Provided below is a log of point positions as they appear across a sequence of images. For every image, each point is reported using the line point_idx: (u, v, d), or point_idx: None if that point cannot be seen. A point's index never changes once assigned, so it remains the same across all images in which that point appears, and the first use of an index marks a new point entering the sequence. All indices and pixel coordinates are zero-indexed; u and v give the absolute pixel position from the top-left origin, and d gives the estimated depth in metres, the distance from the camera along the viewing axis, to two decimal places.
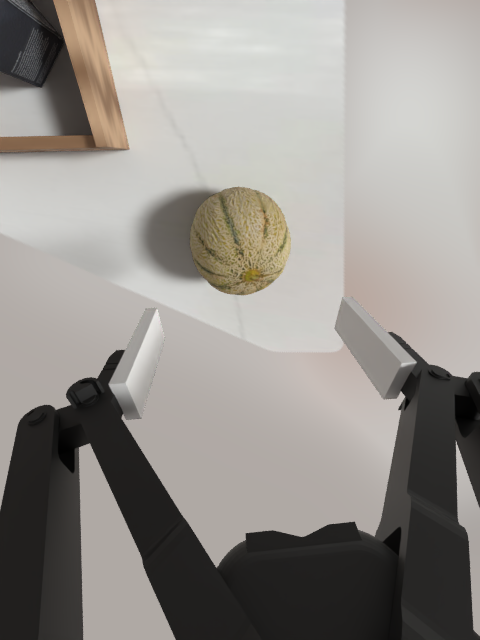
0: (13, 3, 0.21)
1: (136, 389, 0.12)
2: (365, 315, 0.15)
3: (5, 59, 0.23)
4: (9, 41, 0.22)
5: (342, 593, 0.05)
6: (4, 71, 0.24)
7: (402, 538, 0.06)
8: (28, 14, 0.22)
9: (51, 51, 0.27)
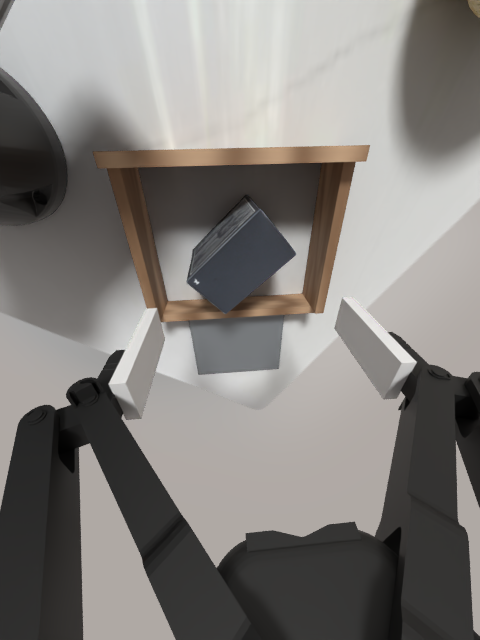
0: (256, 206, 0.23)
1: (136, 389, 0.12)
2: (365, 315, 0.15)
3: None
4: None
5: (342, 593, 0.05)
6: None
7: (402, 538, 0.06)
8: (252, 203, 0.25)
9: None
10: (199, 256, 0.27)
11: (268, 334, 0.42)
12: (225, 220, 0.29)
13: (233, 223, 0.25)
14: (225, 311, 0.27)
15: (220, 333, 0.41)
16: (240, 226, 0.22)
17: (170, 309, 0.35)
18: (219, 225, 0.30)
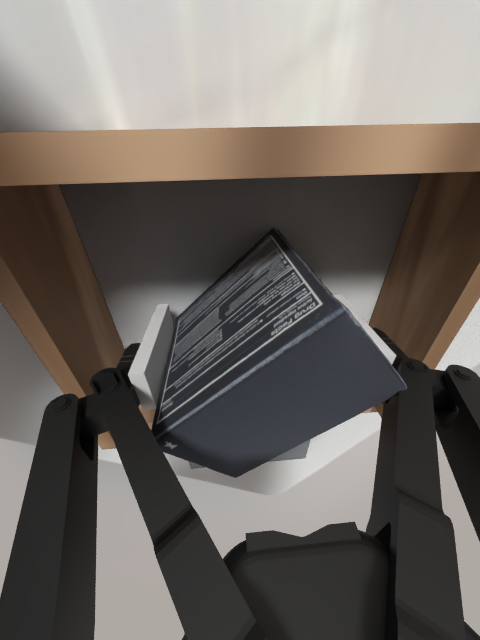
0: (318, 280, 0.09)
1: (152, 380, 0.12)
2: (351, 311, 0.15)
3: None
4: None
5: (342, 593, 0.05)
6: None
7: (392, 534, 0.06)
8: (300, 261, 0.11)
9: None
10: (182, 360, 0.13)
11: None
12: (234, 279, 0.15)
13: (255, 307, 0.11)
14: (235, 475, 0.13)
15: None
16: (281, 342, 0.08)
17: (140, 408, 0.21)
18: (222, 286, 0.16)
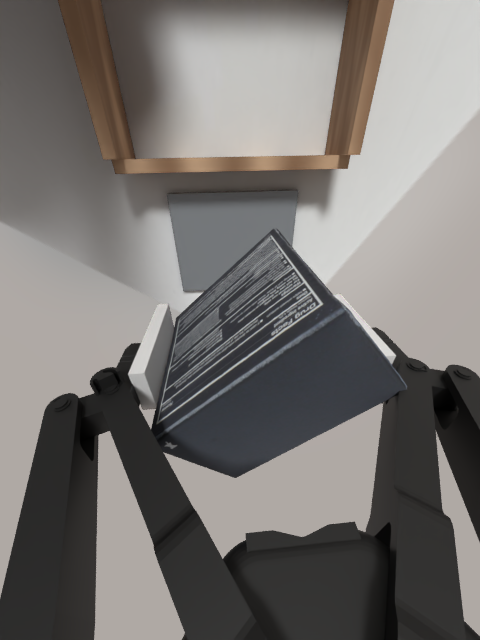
0: (318, 280, 0.09)
1: (152, 380, 0.12)
2: None
3: None
4: None
5: (342, 593, 0.05)
6: None
7: (392, 534, 0.06)
8: (300, 261, 0.11)
9: None
10: (182, 360, 0.13)
11: (276, 225, 0.31)
12: (234, 279, 0.15)
13: (255, 307, 0.11)
14: (235, 475, 0.13)
15: (211, 220, 0.30)
16: (281, 342, 0.08)
17: None
18: (222, 286, 0.16)
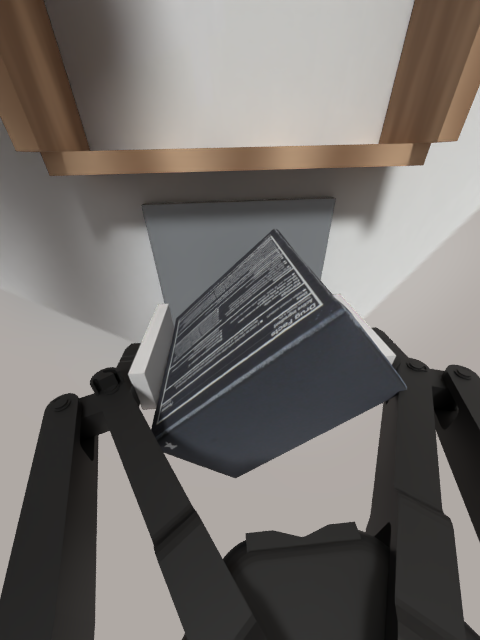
0: (318, 281, 0.09)
1: (152, 380, 0.12)
2: (350, 311, 0.15)
3: None
4: None
5: (342, 593, 0.05)
6: None
7: (392, 534, 0.06)
8: (300, 262, 0.11)
9: None
10: (182, 360, 0.13)
11: (300, 248, 0.22)
12: (234, 279, 0.15)
13: (255, 307, 0.11)
14: (235, 475, 0.13)
15: (208, 242, 0.21)
16: (281, 342, 0.08)
17: None
18: (222, 286, 0.16)
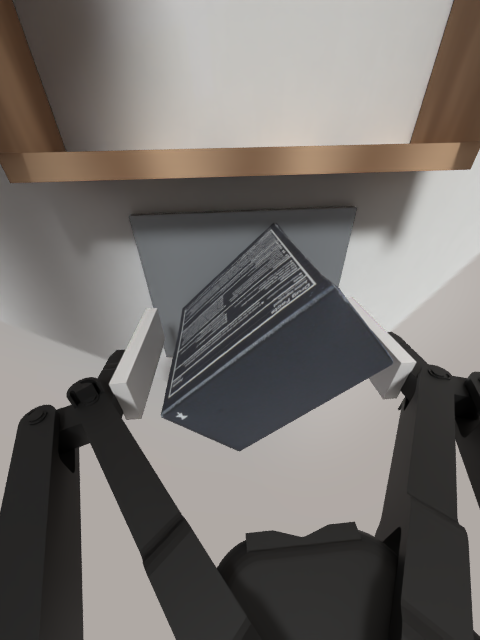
0: (313, 265, 0.10)
1: (136, 389, 0.12)
2: (365, 315, 0.15)
3: None
4: None
5: (342, 593, 0.05)
6: None
7: (402, 538, 0.06)
8: (297, 250, 0.12)
9: None
10: (189, 343, 0.15)
11: (314, 263, 0.19)
12: (237, 270, 0.16)
13: (257, 292, 0.12)
14: (239, 448, 0.14)
15: (207, 257, 0.18)
16: (280, 318, 0.10)
17: None
18: (226, 276, 0.17)
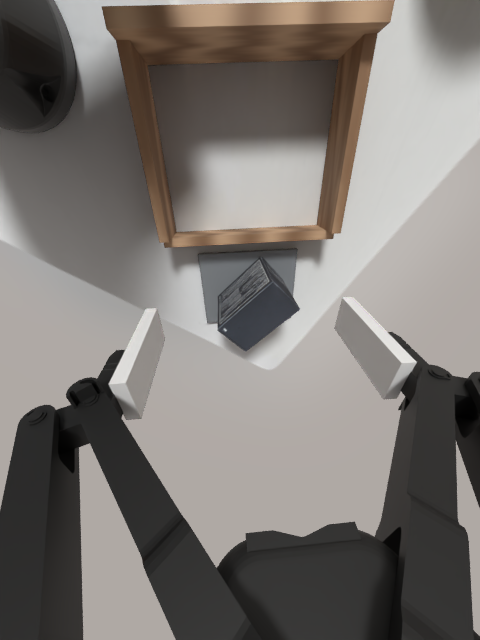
0: (269, 275, 0.31)
1: (136, 389, 0.12)
2: (365, 315, 0.15)
3: (288, 292, 0.34)
4: (282, 286, 0.33)
5: (342, 592, 0.05)
6: (291, 295, 0.35)
7: (402, 538, 0.06)
8: (266, 270, 0.33)
9: (269, 265, 0.38)
10: (225, 307, 0.36)
11: (280, 274, 0.40)
12: (244, 277, 0.37)
13: (252, 285, 0.33)
14: (245, 349, 0.35)
15: (230, 271, 0.39)
16: (258, 292, 0.31)
17: (179, 235, 0.34)
18: (239, 280, 0.38)
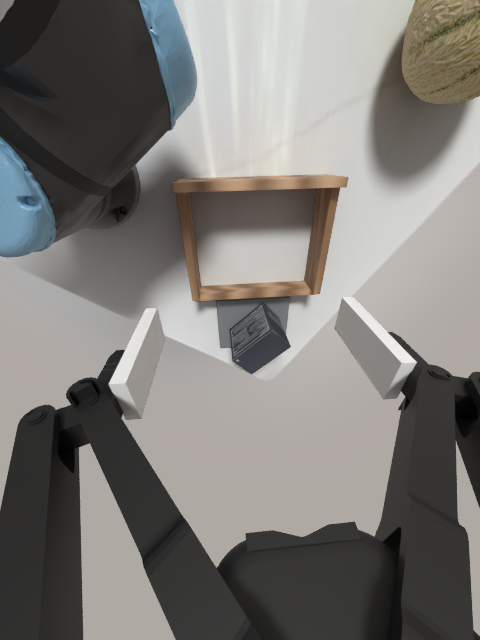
0: (270, 323, 0.45)
1: (136, 389, 0.12)
2: (365, 315, 0.15)
3: (283, 332, 0.48)
4: (278, 329, 0.47)
5: (342, 593, 0.05)
6: (285, 334, 0.49)
7: (402, 538, 0.06)
8: (267, 317, 0.46)
9: (268, 309, 0.51)
10: (237, 342, 0.49)
11: (277, 313, 0.53)
12: (250, 318, 0.50)
13: (257, 328, 0.47)
14: (251, 373, 0.49)
15: (239, 312, 0.52)
16: (262, 336, 0.44)
17: (204, 291, 0.47)
18: (246, 320, 0.51)
